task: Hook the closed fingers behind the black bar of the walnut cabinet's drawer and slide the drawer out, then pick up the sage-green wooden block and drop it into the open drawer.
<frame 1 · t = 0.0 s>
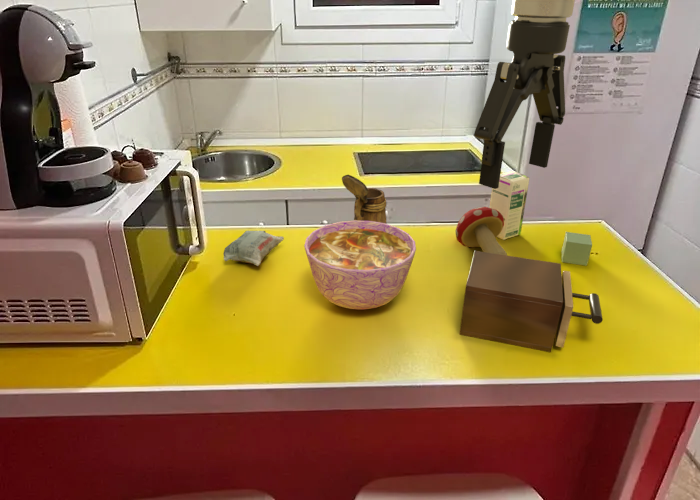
hand: (514, 175, 77), 28 cm above the counter, tool pointing down, fingers open, 13 cm apart
wooden mug: (364, 242, 119), on the counter
bowl of food: (359, 298, 98), on the counter
block: (573, 258, 113), on the counter
decorative mushroom: (480, 255, 114), on the counter
packaged food: (255, 257, 112), on the counter
syrup box: (502, 234, 124), on the counter
cabinet: (506, 321, 92), on the counter
drawer: (539, 303, 88), point 5 cm above the counter, slide at 0.5 cm
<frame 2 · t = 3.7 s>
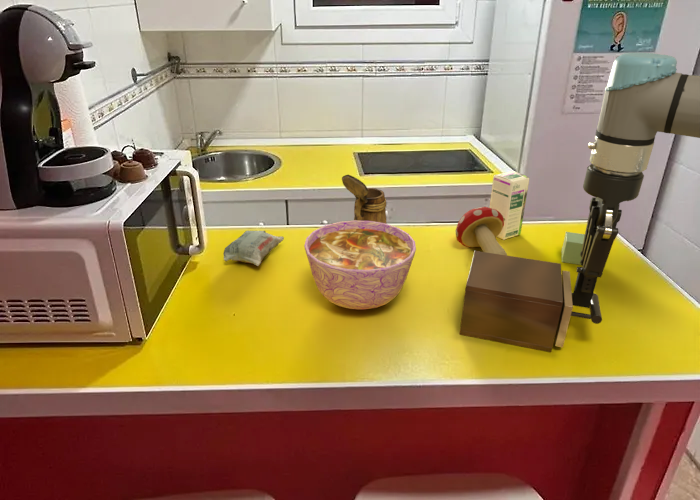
hand: (580, 304, 86), 6 cm above the counter, tool pointing down, fingers closed
drawer: (539, 303, 88), point 5 cm above the counter, slide at 0.4 cm, touching gripper
everything else where it was.
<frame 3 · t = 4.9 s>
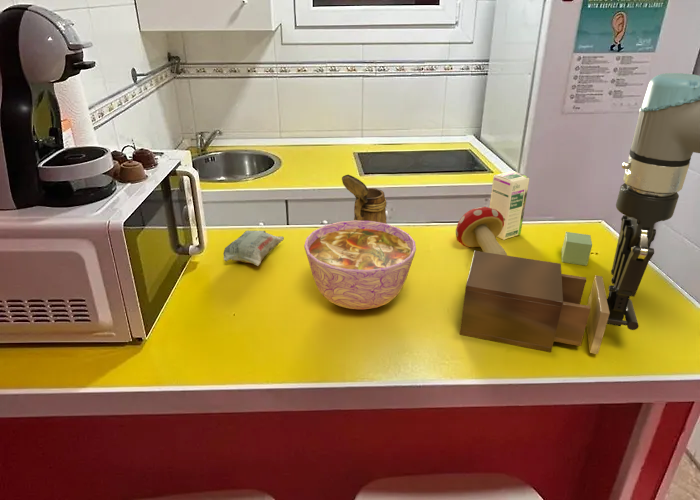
hand: (611, 322, 85), 4 cm above the counter, tool pointing down, fingers closed
drawer: (572, 309, 87), point 5 cm above the counter, slide at 5.7 cm, touching gripper
everything else where it was.
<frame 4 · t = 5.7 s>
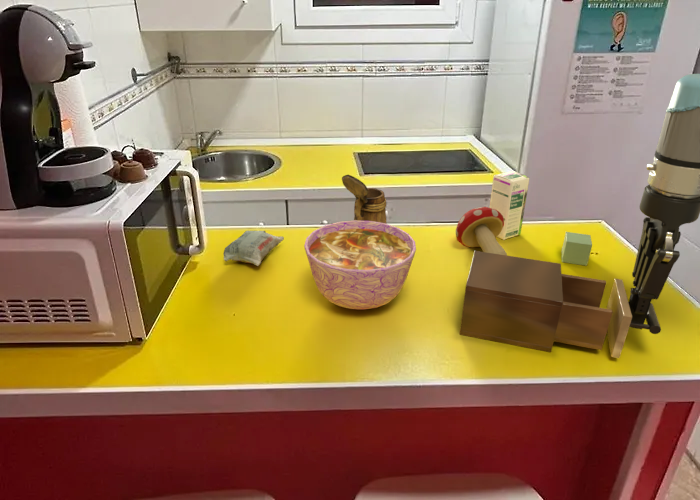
hand: (632, 325, 85), 4 cm above the counter, tool pointing down, fingers closed
drawer: (592, 312, 86), point 5 cm above the counter, slide at 8.8 cm
everything else where it was.
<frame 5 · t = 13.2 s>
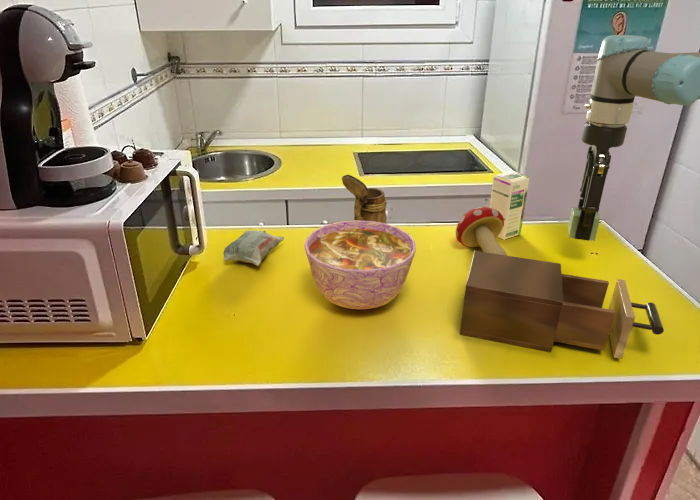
hand: (581, 233, 109), 6 cm above the counter, tool pointing down, fingers closed on block, 5 cm apart
block: (580, 234, 110), point 6 cm above the counter, touching gripper
drawer: (595, 313, 86), point 5 cm above the counter, slide at 9.2 cm
everything else where it was.
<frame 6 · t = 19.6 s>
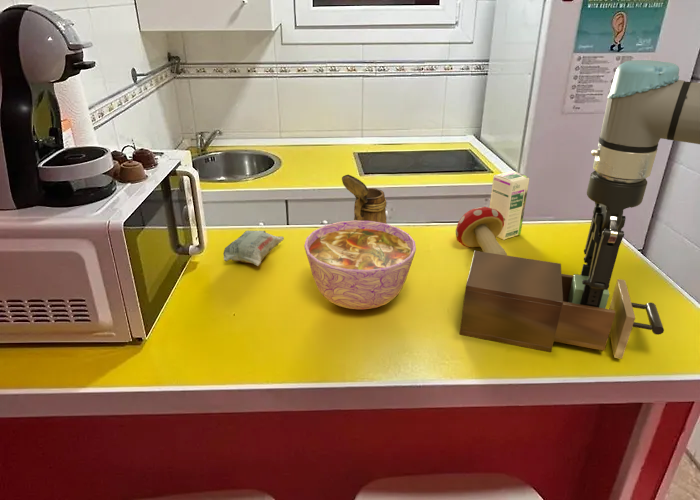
hand: (585, 308, 86), 6 cm above the counter, tool pointing down, fingers closed on block, 5 cm apart
block: (584, 309, 86), point 5 cm above the counter, touching gripper
everything else where it was.
when the fingers open (8 cm above the counter, at t = 31.0 s): block drops 6 cm, resting on drawer.
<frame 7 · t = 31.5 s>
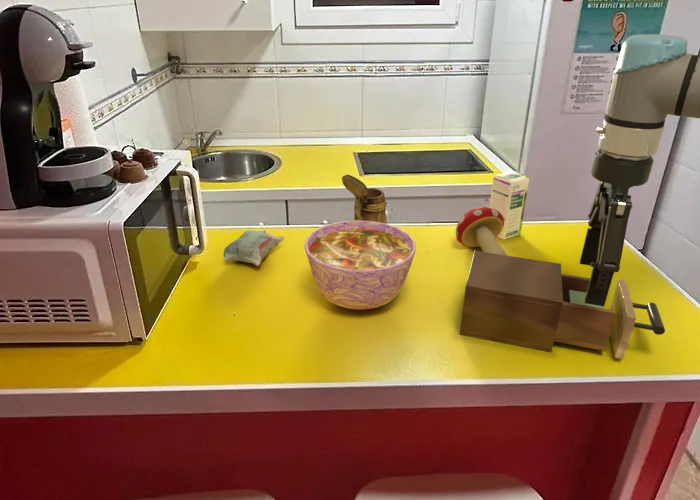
hand: (590, 282, 84), 10 cm above the counter, tool pointing down, fingers open, 12 cm apart
block: (579, 324, 88), point 2 cm above the counter, touching drawer
drawer: (596, 313, 86), point 5 cm above the counter, slide at 9.4 cm, touching block
everything else where it was.
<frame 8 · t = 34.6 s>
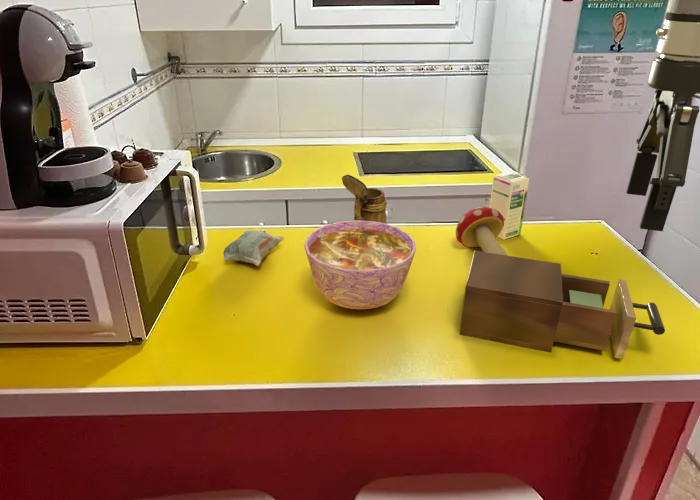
hand: (642, 210, 76), 24 cm above the counter, tool pointing down, fingers open, 13 cm apart
nothing on the counter moved.
at the end: drawer slide at 9.4 cm; block inside the target area in the drawer (0.6 cm from its centre), point 2.1 cm above the cabinet's base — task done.
